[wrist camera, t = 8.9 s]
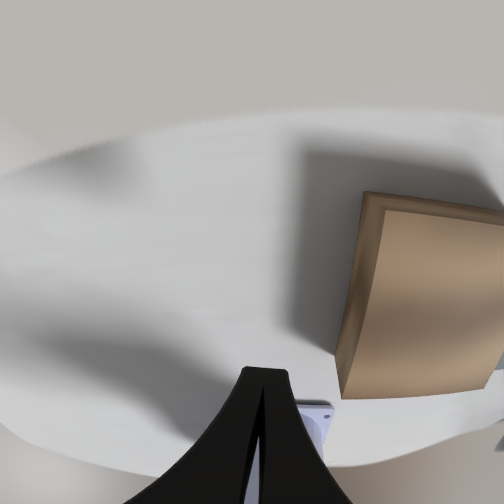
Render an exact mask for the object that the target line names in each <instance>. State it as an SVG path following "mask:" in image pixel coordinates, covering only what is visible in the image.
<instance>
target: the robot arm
mask: <svg viewBox="0 0 504 504" xmlns="http://www.w3.org/2000/svg"><path fill="white" fill-rule="evenodd" d="M334 413H335V410H334V407H333V406H330V405H298V404H296V402H295V399H294V396H293V393H292V389H291V385H290V381H289V375H288V372H287V371H286V370H285V369H273V368H260V367H249V366H246V367H244V368H242V371H241V374H240V376H239V378H238V380H237V383H236V385H235V386H234V388H233V390H232V392H231V394H230V395H229V397H228V399H227V400H226V402H225V403H224V405H223V407H222V408H221V410H220V411H219V413H218V414H217V416H216V417H215V419H214V420H213V421H212V422H211V424H210V425H209V426H208V428H207V429H206V430H205V432H204V433H203V434H202V435H201V437H200V438H199V439H198V440H197V441H196V442H195V444H194V445H193V446H192V447H191V448H190V449H189V450H188V451H187V452H186V453H185V454H184V455H183V456H182V457H181V458H180V459H179V460H178V461H177V462H176V463H175V464H174V465H173V466H172V467H171V468H170V469H169V470H168V471H166V472H165V473H164V474H163V475H162V476H161V477H160V478H158V479H157V480H156V481H155V482H153V483H152V484H151V485H149V486H148V487H146V488H145V489H144V490H142V491H141V492H140V493H138V494H137V495H136V496H134V497H133V498H131V499H130V500H128V501H126V502H125V503H123V504H353V503H352V502H351V501H350V500H349V498H348V497H347V496H346V495H345V493H344V492H343V491H342V490H341V488H340V487H339V486H338V484H337V483H336V481H335V480H334V478H333V477H332V475H331V474H330V472H329V470H328V469H327V467H326V466H325V464H324V459H323V444H324V441H325V438H326V436H327V433H328V430H329V427H330V424H331V421H332V418H333V416H334Z"/></svg>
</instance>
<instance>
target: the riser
mask: <svg viewBox="0 0 504 504" xmlns="http://www.w3.org/2000/svg"><path fill="white" fill-rule="evenodd" d="M503 351H504V212H501V211H496V210H490V209H485V208H479V207H474V206H468V205H462V204H456V203H449V202H443V201H436V200H430V199H423V198H415V197H408V196H400V195H392V194H384V193H376V192H367V191H364V194H363V202H362V210H361V218H360V225H359V232H358V239H357V245H356V251H355V258H354V264H353V269H352V275H351V281H350V286H349V291H348V297H347V302H346V307H345V312H344V317H343V321H342V326H341V331H340V335H339V340H338V344H337V348H336V352H335V362H336V368H337V374H338V381H339V387H340V393H341V399H385V398H404V397H418V396H429V395H439V394H448V393H457V392H464V391H471V390H478V389H484V387H485V385H486V384H487V382H488V380H489V378H490V376H491V375H492V373H493V371H494V369H495V367H496V365H497V363H498V361H499V359H500V357H501V355H502V353H503Z"/></svg>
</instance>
